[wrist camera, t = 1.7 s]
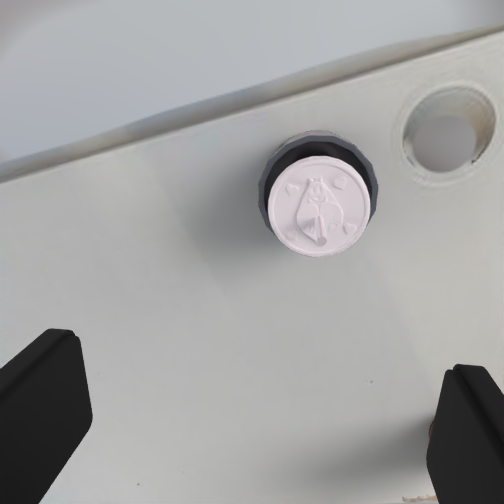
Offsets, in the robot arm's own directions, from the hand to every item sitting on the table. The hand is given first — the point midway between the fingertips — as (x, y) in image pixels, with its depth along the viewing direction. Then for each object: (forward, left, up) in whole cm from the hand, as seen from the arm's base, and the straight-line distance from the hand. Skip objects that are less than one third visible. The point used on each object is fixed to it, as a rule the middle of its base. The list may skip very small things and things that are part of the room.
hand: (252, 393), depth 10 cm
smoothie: (-2, -1, -26) cm, 26 cm away
